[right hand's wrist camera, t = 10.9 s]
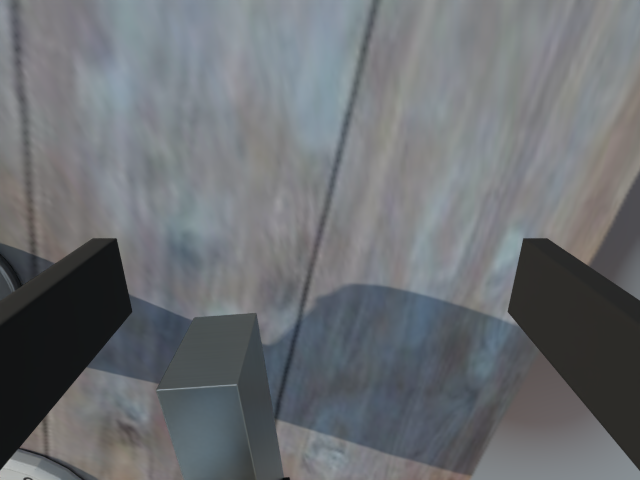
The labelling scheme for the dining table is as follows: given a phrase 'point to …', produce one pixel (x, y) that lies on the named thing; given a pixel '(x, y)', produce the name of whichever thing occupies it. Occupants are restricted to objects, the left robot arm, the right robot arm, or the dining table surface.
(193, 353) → the bar
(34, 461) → the wall clock
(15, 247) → the dining table surface
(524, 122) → the dining table surface
